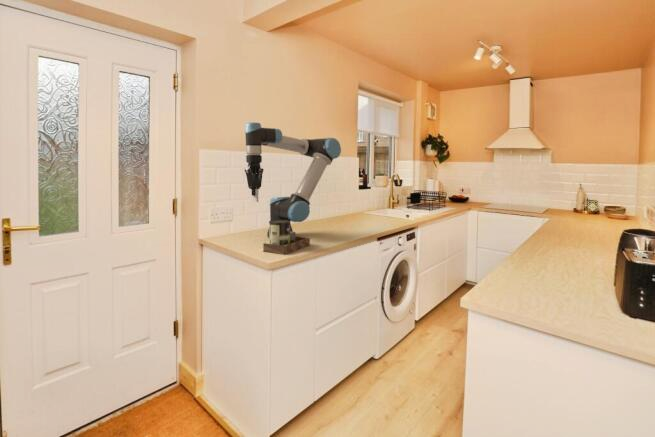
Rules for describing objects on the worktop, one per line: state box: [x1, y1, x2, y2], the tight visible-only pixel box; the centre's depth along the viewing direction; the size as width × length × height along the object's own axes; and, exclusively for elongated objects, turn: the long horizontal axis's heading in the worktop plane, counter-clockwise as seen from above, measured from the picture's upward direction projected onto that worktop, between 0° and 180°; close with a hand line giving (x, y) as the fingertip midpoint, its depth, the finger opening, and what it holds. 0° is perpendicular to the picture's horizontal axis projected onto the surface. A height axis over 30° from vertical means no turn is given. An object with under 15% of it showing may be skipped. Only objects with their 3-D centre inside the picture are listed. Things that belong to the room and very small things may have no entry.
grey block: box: [290, 231, 296, 240], centre depth 189 cm, size 6×4×7 cm, turn 152°
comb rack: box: [262, 235, 311, 256], centre depth 182 cm, size 23×12×4 cm, turn 152°
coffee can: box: [268, 220, 291, 246], centre depth 179 cm, size 10×10×14 cm
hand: (255, 201), depth 185 cm, fingers closed
